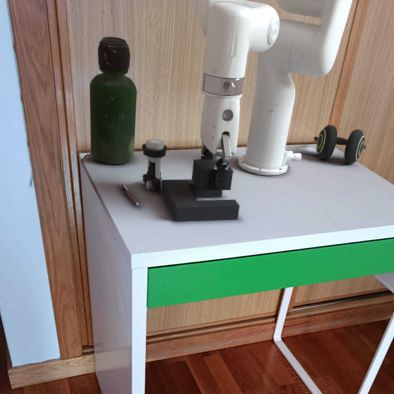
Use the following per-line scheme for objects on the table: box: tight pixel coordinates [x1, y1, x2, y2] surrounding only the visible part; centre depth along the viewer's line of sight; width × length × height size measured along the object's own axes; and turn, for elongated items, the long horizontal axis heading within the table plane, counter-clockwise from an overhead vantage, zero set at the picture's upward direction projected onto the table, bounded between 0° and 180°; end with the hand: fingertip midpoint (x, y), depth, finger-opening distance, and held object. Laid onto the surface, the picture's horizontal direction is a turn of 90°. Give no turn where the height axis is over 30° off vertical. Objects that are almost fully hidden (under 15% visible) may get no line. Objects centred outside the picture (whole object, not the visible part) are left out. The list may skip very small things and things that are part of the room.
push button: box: [141, 138, 168, 194], centre depth 107 cm, size 7×5×10 cm
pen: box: [120, 182, 140, 207], centre depth 105 cm, size 11×1×1 cm, turn 25°
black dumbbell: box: [313, 124, 367, 165], centre depth 138 cm, size 9×15×20 cm
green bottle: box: [89, 36, 138, 165], centre depth 113 cm, size 10×10×25 cm
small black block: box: [191, 158, 234, 191], centre depth 101 cm, size 6×6×4 cm
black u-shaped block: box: [160, 178, 241, 223], centre depth 104 cm, size 13×14×3 cm
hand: (211, 181), depth 102 cm, fingers closed on small black block, 6 cm apart
